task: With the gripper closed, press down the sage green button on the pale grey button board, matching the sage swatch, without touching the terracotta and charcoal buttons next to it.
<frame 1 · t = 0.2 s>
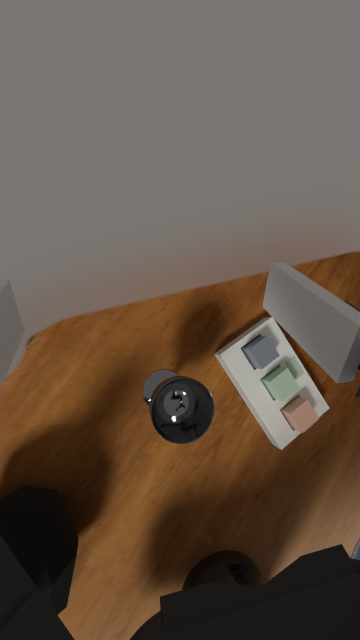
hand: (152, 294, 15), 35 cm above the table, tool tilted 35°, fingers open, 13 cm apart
sage button: (279, 383, 51), point 4 cm above the table, slide at 0.0 cm
button board: (268, 380, 54), on the table
charcoal button: (260, 352, 50), point 4 cm above the table, slide at 0.0 cm
wine glass: (163, 390, 50), on the table
bottle: (29, 526, 44), on the table
terracotta button: (299, 413, 51), point 4 cm above the table, slide at 0.0 cm
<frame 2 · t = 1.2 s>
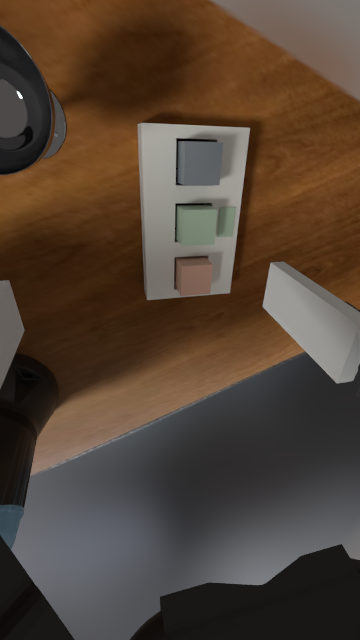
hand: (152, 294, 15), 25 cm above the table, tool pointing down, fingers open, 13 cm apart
sage button: (195, 224, 35), point 4 cm above the table, slide at 0.0 cm
button board: (187, 218, 38), on the table
charcoal button: (198, 163, 32), point 4 cm above the table, slide at 0.0 cm
wine glass: (29, 119, 30), on the table
terracotta button: (193, 275, 38), point 4 cm above the table, slide at 0.0 cm
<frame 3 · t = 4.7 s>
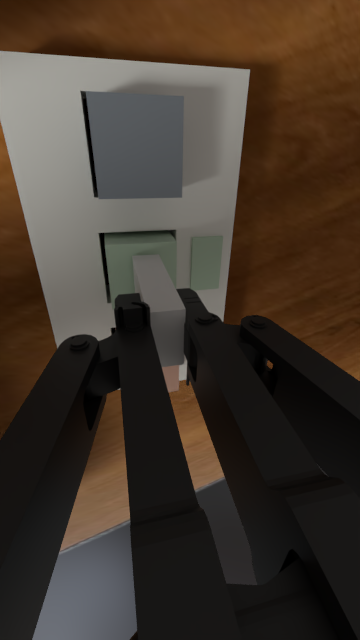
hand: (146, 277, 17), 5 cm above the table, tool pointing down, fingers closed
sage button: (140, 267, 19), point 3 cm above the table, slide at 1.1 cm, touching gripper
button board: (135, 253, 21), on the table
charcoal button: (135, 149, 14), point 4 cm above the table, slide at 0.0 cm
terracotta button: (147, 358, 21), point 4 cm above the table, slide at 0.0 cm
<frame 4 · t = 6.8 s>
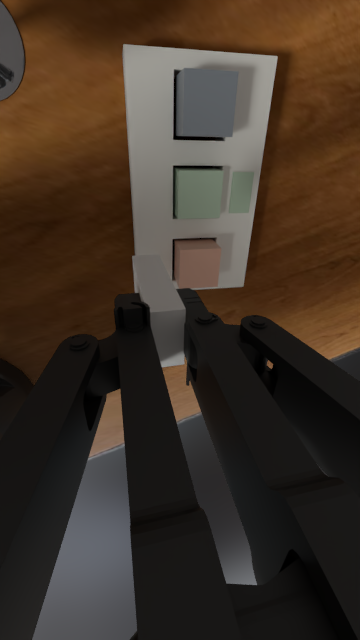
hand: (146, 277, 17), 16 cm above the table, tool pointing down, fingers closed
sage button: (196, 192, 28), point 3 cm above the table, slide at 1.4 cm
button board: (190, 188, 30), on the table
charcoal button: (204, 106, 23), point 4 cm above the table, slide at 0.0 cm
terracotta button: (196, 263, 30), point 4 cm above the table, slide at 0.0 cm
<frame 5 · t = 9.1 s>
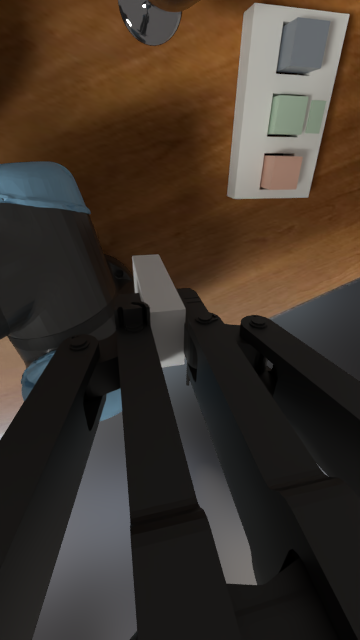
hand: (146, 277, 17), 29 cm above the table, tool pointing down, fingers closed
sage button: (284, 116, 39), point 3 cm above the table, slide at 1.4 cm
button board: (274, 117, 41), on the table
charcoal button: (301, 47, 34), point 4 cm above the table, slide at 0.0 cm
wine glass: (150, 3, 32), on the table
terracotta button: (280, 172, 41), point 4 cm above the table, slide at 0.0 cm
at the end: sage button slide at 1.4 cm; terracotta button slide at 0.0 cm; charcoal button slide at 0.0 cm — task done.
